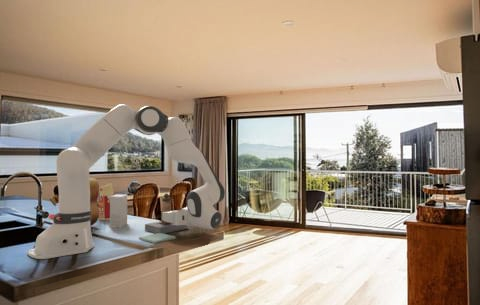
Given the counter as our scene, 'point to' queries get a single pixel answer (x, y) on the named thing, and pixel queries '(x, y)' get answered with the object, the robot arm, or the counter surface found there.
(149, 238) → the plate
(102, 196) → the milk carton
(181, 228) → the holder
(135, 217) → the counter surface
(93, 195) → the butternut squash
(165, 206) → the pepper mill
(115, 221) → the skincare box
